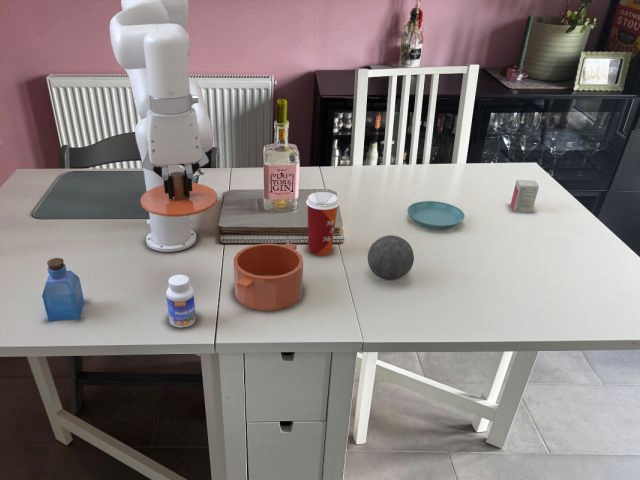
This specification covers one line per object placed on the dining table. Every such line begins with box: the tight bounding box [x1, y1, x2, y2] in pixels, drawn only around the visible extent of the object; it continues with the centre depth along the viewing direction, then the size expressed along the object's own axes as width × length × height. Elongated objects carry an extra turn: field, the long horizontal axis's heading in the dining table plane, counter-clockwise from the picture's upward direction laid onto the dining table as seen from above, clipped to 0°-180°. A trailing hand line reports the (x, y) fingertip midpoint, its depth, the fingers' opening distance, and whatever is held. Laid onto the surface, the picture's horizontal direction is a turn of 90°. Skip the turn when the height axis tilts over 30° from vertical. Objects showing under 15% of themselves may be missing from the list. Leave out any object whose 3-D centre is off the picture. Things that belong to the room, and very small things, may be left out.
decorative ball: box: [367, 234, 415, 281], centre depth 126 cm, size 10×10×10 cm
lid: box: [140, 171, 218, 217], centre depth 115 cm, size 16×16×6 cm
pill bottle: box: [165, 274, 197, 328], centre depth 113 cm, size 5×5×10 cm
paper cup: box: [305, 191, 340, 257], centre depth 136 cm, size 8×8×14 cm
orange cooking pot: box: [233, 242, 304, 312], centre depth 122 cm, size 15×20×8 cm
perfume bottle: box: [41, 257, 85, 322], centre depth 115 cm, size 6×6×12 cm
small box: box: [509, 179, 540, 213], centre depth 156 cm, size 5×4×8 cm
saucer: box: [406, 200, 466, 231], centre depth 151 cm, size 15×15×3 cm
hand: (178, 194), depth 116 cm, fingers closed on lid, 2 cm apart
